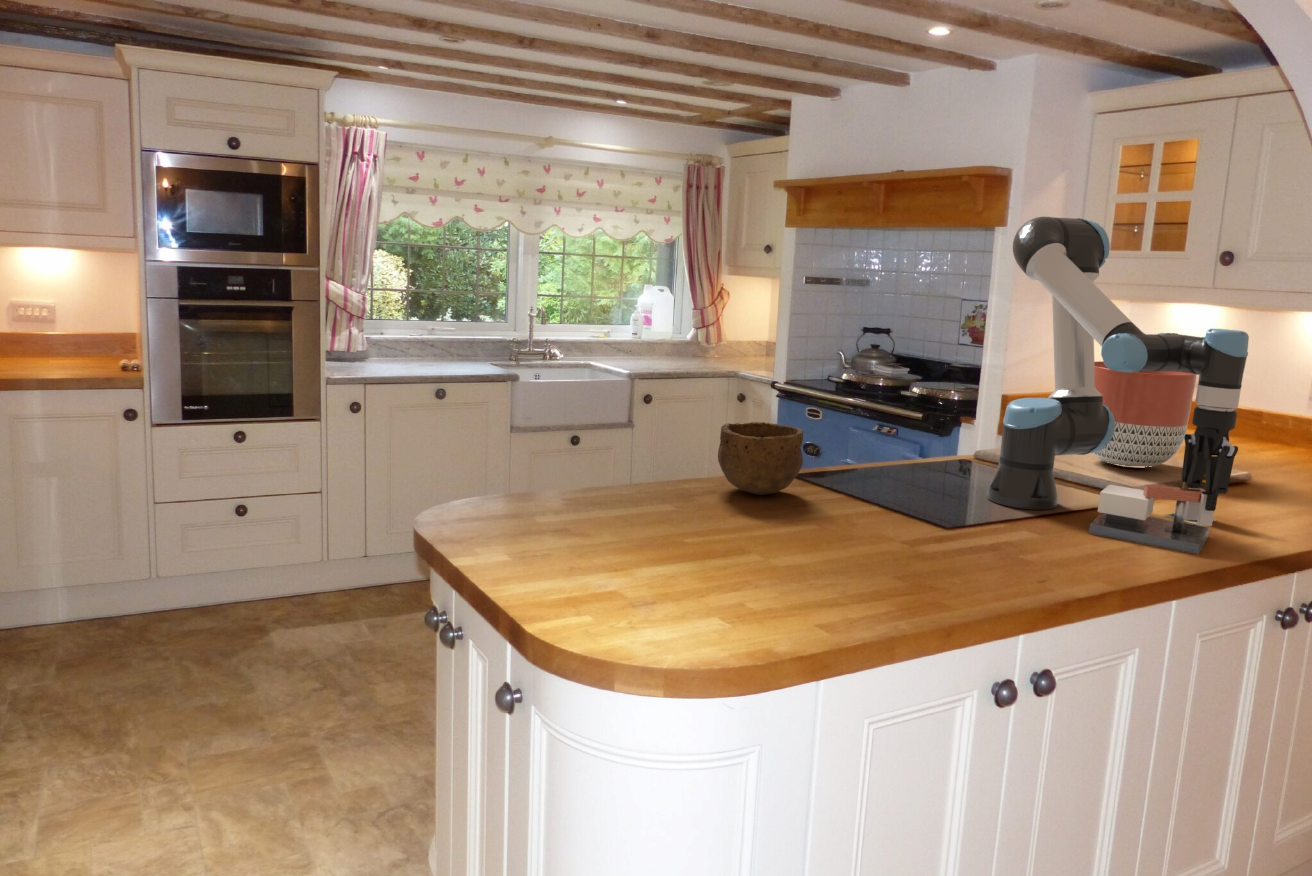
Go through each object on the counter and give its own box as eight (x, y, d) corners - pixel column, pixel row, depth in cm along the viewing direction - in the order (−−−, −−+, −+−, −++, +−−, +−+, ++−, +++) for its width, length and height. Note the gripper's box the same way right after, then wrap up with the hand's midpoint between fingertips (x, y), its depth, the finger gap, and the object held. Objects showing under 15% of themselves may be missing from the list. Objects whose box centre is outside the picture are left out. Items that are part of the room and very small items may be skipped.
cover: (1097, 511, 208) (1100, 492, 207) (1106, 503, 215) (1109, 484, 214) (1145, 520, 203) (1148, 500, 202) (1152, 511, 210) (1155, 492, 209)
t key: (1141, 527, 204) (1147, 487, 202) (1138, 524, 206) (1144, 484, 205) (1205, 533, 202) (1212, 492, 200) (1202, 530, 204) (1208, 490, 202)
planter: (1064, 465, 272) (1077, 366, 267) (1086, 450, 294) (1099, 358, 288) (1172, 482, 257) (1189, 378, 252) (1187, 466, 279) (1203, 369, 273)
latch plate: (1088, 533, 206) (1093, 500, 205) (1104, 517, 219) (1109, 486, 218) (1197, 554, 195) (1203, 519, 194) (1207, 536, 208) (1213, 504, 207)
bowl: (703, 496, 220) (707, 429, 217) (730, 478, 237) (734, 416, 234) (787, 508, 213) (792, 439, 210) (808, 490, 230) (813, 426, 227)
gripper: (1262, 415, 191) (1242, 534, 195) (1207, 402, 207) (1189, 512, 212) (1225, 414, 190) (1206, 533, 195) (1172, 400, 206) (1156, 511, 211)
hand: (1197, 522), depth 203 cm, fingers open, 3 cm apart
